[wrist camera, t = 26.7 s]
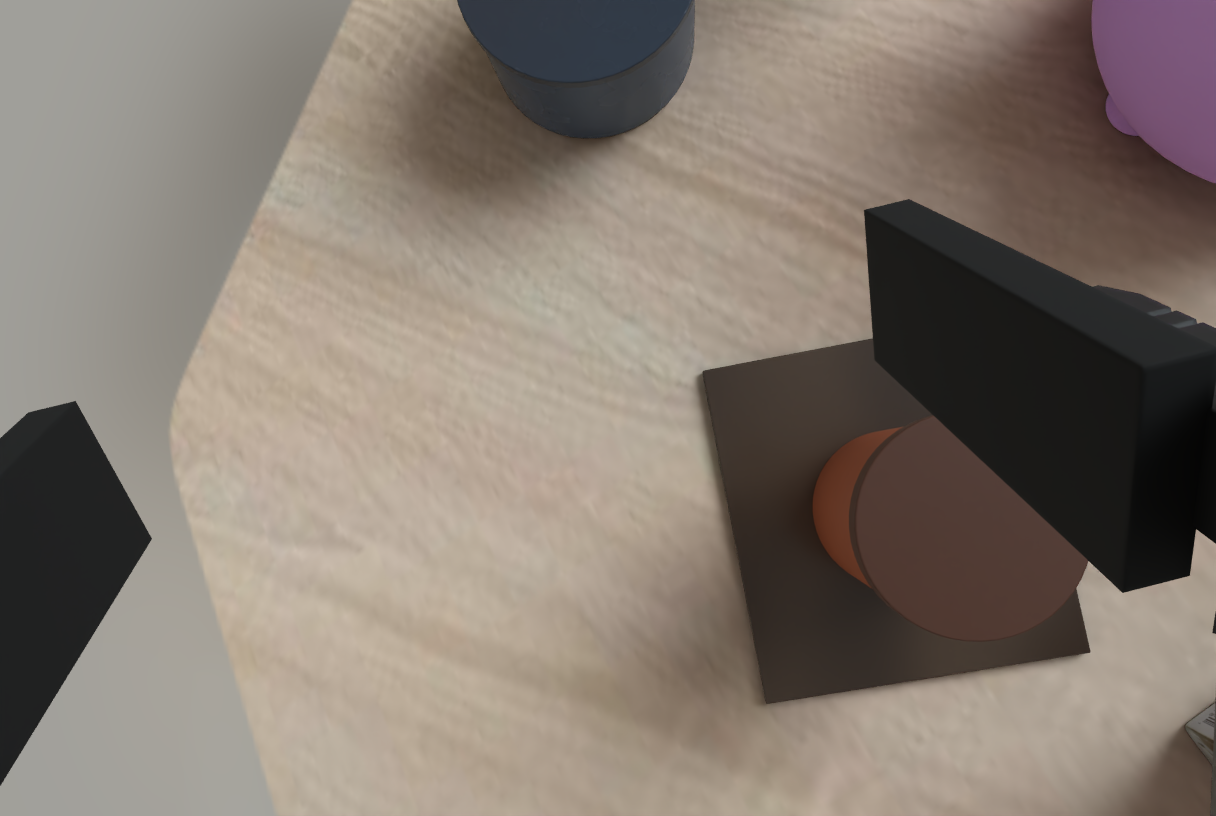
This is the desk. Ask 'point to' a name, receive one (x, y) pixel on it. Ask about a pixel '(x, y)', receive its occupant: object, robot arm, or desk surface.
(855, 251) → the desk surface
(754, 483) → the plate
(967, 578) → the canister
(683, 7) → the tin
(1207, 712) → the coffee box
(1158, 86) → the teapot
